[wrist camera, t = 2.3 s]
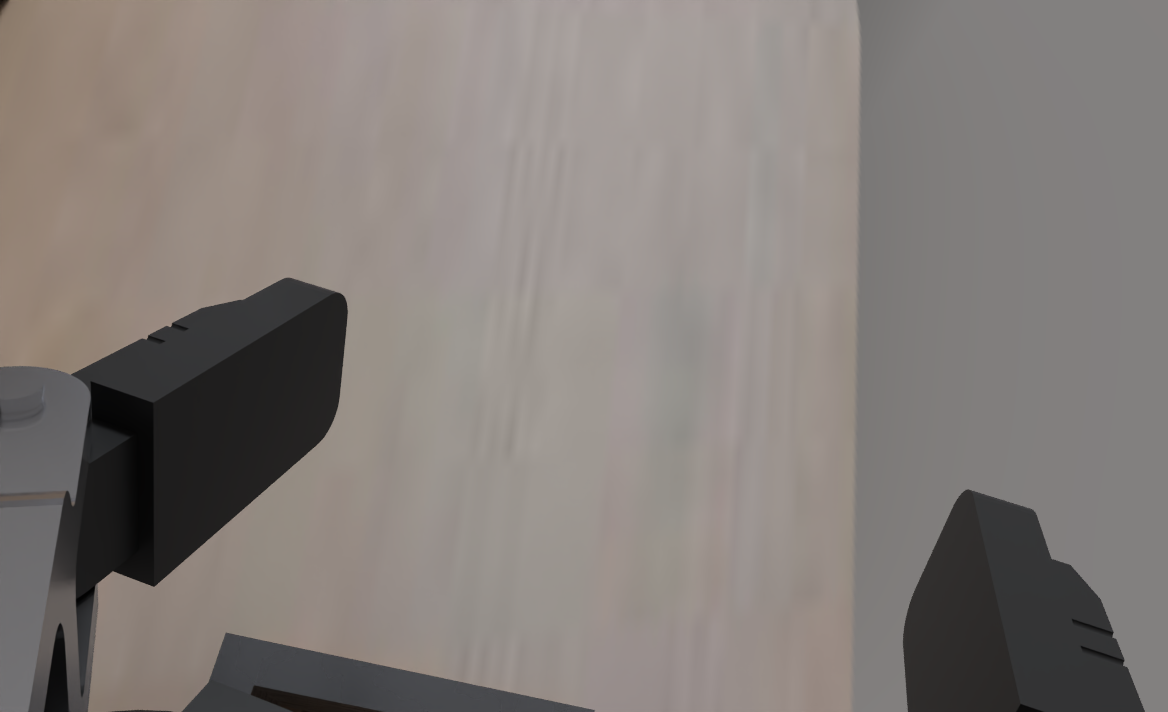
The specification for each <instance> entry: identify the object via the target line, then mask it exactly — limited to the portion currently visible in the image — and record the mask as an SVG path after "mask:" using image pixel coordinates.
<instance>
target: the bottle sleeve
mask: <svg viewBox="0 0 1168 712" xmlns="http://www.w3.org/2000/svg"><path fill="white" fill-rule="evenodd" d="M211 679H212V680H214V681H217V682H219V683H222V684H224V685H227V686H229V687H232V688H234V689H237V690H239V691H242V692H244V693H247V694H250V695H252V696H255V697H257V698H260V699H262V700H265V701H267V702H270V703H272V704H275V705H277V706H280V707H282V708H285V709H287V710H290V711H293V712H594V711H595V710H591V709H586V708H582V707H577V706H572V705H567V704H563V703H558V702H553V701H548V700H544V699H539V698H534V697H529V696H524V695H520V694H515V693H510V692H505V691H501V690H496V689H491V688H486V687H482V686H477V685H472V684H467V683H463V682H458V681H453V680H448V679H444V678H439V677H434V676H429V675H424V674H420V673H415V672H410V671H405V670H401V669H396V668H391V667H386V666H382V665H377V664H372V663H367V662H363V661H358V660H353V659H348V658H343V657H339V656H334V655H329V654H324V653H320V652H315V651H310V650H305V649H301V648H296V647H291V646H286V645H282V644H277V643H272V642H267V641H263V640H258V639H253V638H248V637H243V636H239V635H234V634H229V633H226V634H225V637H224V640H223V643H222V646H221V649H220V651H219V654H218V657H217V660H216V663H215V666H214V669H213V672H212V674H211V677H210V680H209V682H210V681H211Z"/></svg>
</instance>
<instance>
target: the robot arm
mask: <svg viewBox="0 0 1168 712" xmlns="http://www.w3.org/2000/svg"><path fill="white" fill-rule="evenodd" d="M347 314H348V310H347V302H346V299H345V297H344V296H343V295H342V294H341V293H338V292H334V291H331V290H328V289H325V288H322V287H318V286H315V285H312V284H309V283H305V282H302V281H299V280H296V279H293V278H284V279H282V280H280V281H278V282H276V283H274V284H272V285H271V286H269V287H267V288H265V289H263V290H261V291H259V292H257V293H255V294H254V295H252V296H250V297H248V298H246V299H244V300H238V301H233V302H228V303H224V304H219V305H214V306H210V307H205V308H201V309H199V310H197V311H195V312H193V313H191V314H189V315H187V316H185V317H183V318H181V319H179V320H177V321H175V322H173V323H172V326H171V327H168V326H166V327H164V328H162V329H160V330H158V331H156V332H154V333H152V334H150V335H148V338H147V340H145V339H140V340H138V341H136V342H134V343H132V344H130V345H128V346H126V347H124V348H122V349H120V350H118V351H116V352H115V353H113V354H111V355H109V356H107V357H105V358H103V359H101V360H99V361H97V362H95V363H93V364H91V365H89V366H87V367H85V368H83V369H81V370H79V371H77V372H75V373H73V374H71V375H70V374H68V373H64V372H61V371H58V370H53V369H48V368H41V367H29V366H13V367H0V712H88V703H89V693H90V683H91V673H92V663H93V653H94V643H95V633H96V623H97V613H98V584H97V583H99V582H100V581H101V580H102V579H104V578H105V577H106V576H107V575H108V574H110V573H111V572H112V571H114V572H116V573H119V574H122V575H124V576H127V577H130V578H132V579H135V580H137V581H140V582H143V583H145V584H148V585H151V586H153V587H155V586H156V585H157V584H158V583H159V582H160V581H161V580H163V579H164V578H165V577H166V576H167V575H168V574H169V573H171V572H172V571H173V570H174V569H175V568H176V567H177V566H179V565H180V564H181V563H182V562H183V561H184V560H185V559H187V558H188V557H189V556H190V555H191V554H192V553H194V552H195V551H196V550H197V549H198V548H199V547H200V546H202V545H203V544H204V543H205V542H206V541H207V540H208V539H210V538H211V537H212V536H213V535H214V534H215V533H216V532H218V531H219V530H220V529H221V528H222V527H223V526H224V525H226V524H227V523H228V522H229V521H230V520H231V519H232V518H234V517H235V516H236V515H237V514H238V513H239V512H241V511H242V510H243V509H244V508H245V507H246V506H247V505H249V504H250V503H251V502H252V501H253V500H254V499H255V498H257V497H258V496H259V495H260V494H261V493H262V492H263V491H265V490H266V489H267V488H268V487H269V486H270V485H271V484H273V483H274V482H275V481H276V480H277V479H278V478H280V477H281V476H282V475H283V474H284V473H285V472H286V471H288V470H289V469H290V468H291V467H292V466H293V465H294V464H296V463H297V462H298V461H299V460H300V459H301V458H302V457H304V456H305V455H306V454H307V453H308V452H309V451H310V450H312V449H313V448H314V447H315V446H316V445H317V444H318V443H319V442H320V441H321V440H322V439H323V438H324V437H325V435H326V433H327V432H328V430H329V428H330V427H331V424H332V422H333V420H334V417H335V415H336V411H337V408H338V404H339V397H340V387H341V377H342V367H343V357H344V346H345V336H346V326H347ZM1112 635H1113V630H1112V627H1111V625H1110V622H1109V620H1108V617H1107V615H1106V612H1105V609H1104V607H1103V604H1102V602H1101V599H1100V598H1099V597H1098V596H1097V595H1096V594H1095V593H1094V591H1093V590H1092V589H1091V588H1090V587H1089V586H1088V585H1087V584H1086V582H1085V581H1084V580H1083V579H1082V578H1081V577H1080V575H1078V573H1077V572H1076V571H1075V570H1074V569H1073V568H1072V566H1071V565H1069V564H1065V563H1062V562H1059V561H1056V560H1052V559H1051V557H1050V554H1049V551H1048V548H1047V545H1046V542H1045V539H1044V536H1043V533H1042V530H1041V527H1040V524H1039V521H1038V518H1037V515H1036V513H1035V512H1034V511H1033V510H1032V509H1029V508H1026V507H1023V506H1020V505H1017V504H1013V503H1010V502H1007V501H1004V500H1000V499H997V498H994V497H991V496H987V495H984V494H981V493H978V492H975V491H971V490H965V491H964V492H963V493H962V494H961V495H960V496H959V498H958V499H957V501H956V502H955V504H954V506H953V508H952V510H951V513H950V515H949V517H948V519H947V521H946V523H945V526H944V528H943V530H942V532H941V534H940V537H939V539H938V541H937V543H936V545H935V547H934V550H933V552H932V554H931V556H930V558H929V560H928V563H927V565H926V567H925V569H924V572H923V573H922V576H921V578H920V580H919V582H918V584H917V587H916V589H915V591H914V593H913V596H912V599H911V602H910V605H909V608H908V612H907V616H906V621H905V626H904V634H903V648H904V663H905V677H906V690H907V703H908V704H907V705H908V712H1145V711H1144V708H1143V706H1142V703H1141V701H1140V698H1139V696H1138V693H1137V691H1136V688H1135V686H1134V683H1133V681H1132V678H1131V675H1130V673H1129V670H1128V668H1127V667H1125V666H1123V662H1124V658H1123V655H1122V653H1121V650H1120V647H1119V645H1118V642H1117V640H1116V639H1114V638H1112ZM114 712H171V711H151V710H131V711H114ZM182 712H293V711H290V710H287V709H285V708H282V707H280V706H277V705H275V704H272V703H270V702H267V701H265V700H262V699H260V698H257V697H255V696H252V695H250V694H247V693H244V692H242V691H239V690H237V689H234V688H232V687H229V686H227V685H224V684H222V683H219V682H217V681H214V680H212V679H211V681H210V682H209V683H208V684H207V685H206V686H205V687H204V688H203V689H202V690H201V692H200V693H199V694H198V695H197V696H196V697H195V698H194V699H193V700H192V701H191V702H190V704H189V705H188V706H187V707H186V708H185V709H184V710H183V711H182Z"/></svg>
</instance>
